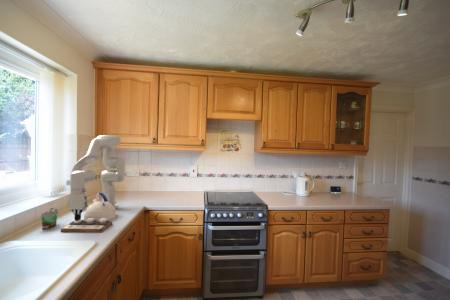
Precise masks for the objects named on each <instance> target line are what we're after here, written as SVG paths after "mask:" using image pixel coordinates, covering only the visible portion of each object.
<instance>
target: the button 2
mask: <svg viewBox="0 0 450 300" xmlns="http://www.w3.org/2000/svg"><path fill="white" fill-rule="evenodd" d="M106 221H107V218H101V219H99V222H100V223H103V222H106Z"/></svg>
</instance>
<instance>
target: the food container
mask: <svg viewBox="0 0 450 300" xmlns="http://www.w3.org/2000/svg"><path fill="white" fill-rule="evenodd" d="M58 214H59V210H58V208H56V207H50V210H47V211H45V212H44V213H43V212H42V213H41V216H40V217H41V229H42V230H47V229H51V228H54V227H56V226H57V220H58Z"/></svg>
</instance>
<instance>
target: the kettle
mask: <svg viewBox="0 0 450 300" xmlns="http://www.w3.org/2000/svg"><path fill="white" fill-rule="evenodd" d="M100 196H101V198H102V197H103V199H104V201H102V200H100ZM106 201H108V200H107V198H106V196H105V195H104V194H103V193H102V192H98V193H97V194H96V196H95V198H93V200H92V202H93V203H91V204H90V205H88V207H87V210H86V211H84V214H83V220H85V221H87V219H88V218H94V220H97V221H99V219H101V218H107V220H110V221H111V220H112V219H115V218H116V217H117V213H116V209H115V208H114V206H113V205H112V204H110V203H109V202H106Z"/></svg>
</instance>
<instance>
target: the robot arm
mask: <svg viewBox="0 0 450 300" xmlns="http://www.w3.org/2000/svg"><path fill="white" fill-rule="evenodd" d="M121 142H122V140H121V137H120V136H119V135H116V134H115V135H113V134H112V135H111V134H102V135H97V137H95V138H93V139H91V142H90V145H89V147H88V149H87V152H86V154H85V156H82V157H81V158H80V159H79V160H78V161H76V162H75V164H74V165H73V167H72V169H71V172H70V192H69V195H68V198H67V199H68V200H67V209H68V211H70V212H72V213H73V215H74V220H75V221H76V220H77V221H78V220H80V219H81V218H82V213H83V212H85V211H86V210H87V208H88V207H89V202H88V201H89V199H88V195H87V189H86V182H93V181H94V180H95V179H96V177H97V174H96V172H95V171H94V170H91V169H84V167H86V166H87V165H90V164H93V163H95V162H97V161H99V160H100V158H101V155H102V164H103V168H104V169H105V170H102V172H101V173H100V181H101V193H103V194H104V195H105V196H106V198H107V200H108V201H106V202H109V203H110V204H112V205H113V206H114V208H115V210H117V209H118V205H116V204H117V203H118V202H117V200H116V185H115V183H120V182H121V183H122V182H123V181H124V180H125V178H126V176H125V174H126V173H125V171H126V161H125V159H124V157H122V156H116V149H115V148H117V147H119V146H120V144H121ZM101 201H104V199H103V197H102V196H101ZM81 220H82V219H81Z"/></svg>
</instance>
